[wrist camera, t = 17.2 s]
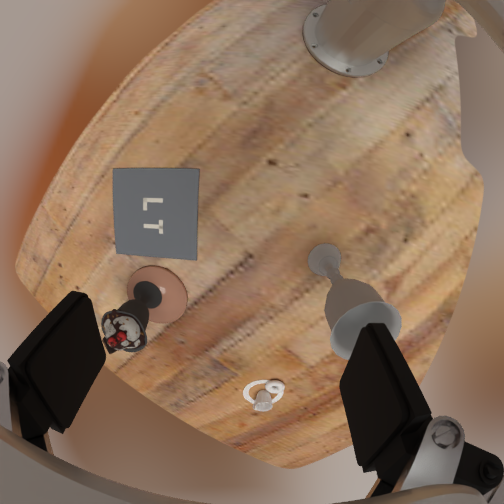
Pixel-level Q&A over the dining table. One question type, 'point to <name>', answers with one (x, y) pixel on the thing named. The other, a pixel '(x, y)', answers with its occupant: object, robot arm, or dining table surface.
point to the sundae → (131, 320)
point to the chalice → (349, 302)
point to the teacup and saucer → (264, 394)
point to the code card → (156, 212)
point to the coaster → (162, 292)
